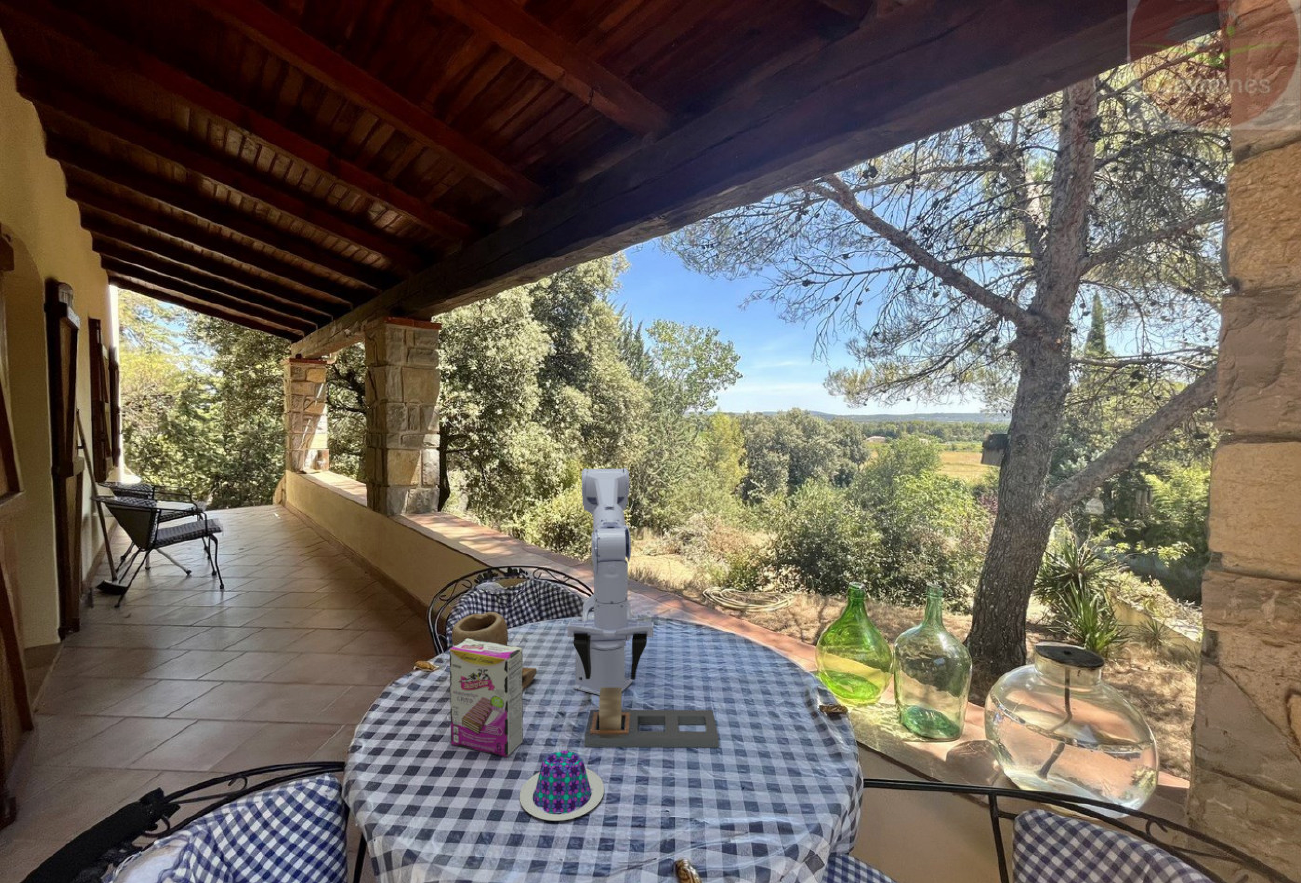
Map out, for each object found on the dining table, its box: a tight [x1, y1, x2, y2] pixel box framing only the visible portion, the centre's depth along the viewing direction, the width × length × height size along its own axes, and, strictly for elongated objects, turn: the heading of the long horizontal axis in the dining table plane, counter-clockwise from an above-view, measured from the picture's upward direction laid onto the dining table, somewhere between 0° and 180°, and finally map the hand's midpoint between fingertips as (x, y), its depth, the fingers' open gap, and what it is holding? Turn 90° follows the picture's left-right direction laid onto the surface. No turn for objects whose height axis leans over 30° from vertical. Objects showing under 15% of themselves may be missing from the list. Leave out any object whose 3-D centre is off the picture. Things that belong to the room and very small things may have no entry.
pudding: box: [519, 750, 605, 822], centre depth 83 cm, size 12×12×5 cm
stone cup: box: [451, 611, 538, 690], centre depth 114 cm, size 15×12×15 cm
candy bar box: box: [449, 639, 524, 758], centre depth 95 cm, size 11×5×16 cm, turn 71°
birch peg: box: [598, 687, 623, 730], centre depth 99 cm, size 4×4×7 cm
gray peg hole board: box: [583, 709, 720, 748], centre depth 99 cm, size 22×9×2 cm, turn 90°
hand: (610, 676), depth 99 cm, fingers open, 7 cm apart
